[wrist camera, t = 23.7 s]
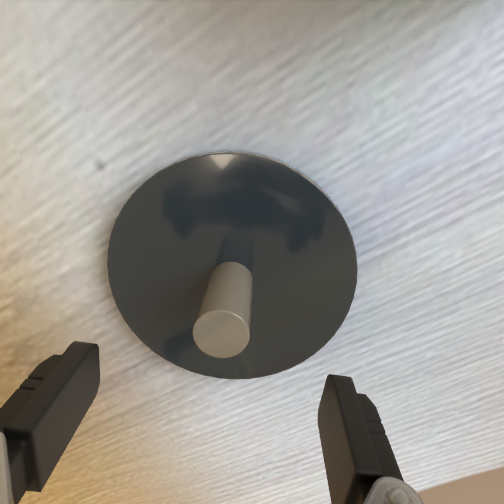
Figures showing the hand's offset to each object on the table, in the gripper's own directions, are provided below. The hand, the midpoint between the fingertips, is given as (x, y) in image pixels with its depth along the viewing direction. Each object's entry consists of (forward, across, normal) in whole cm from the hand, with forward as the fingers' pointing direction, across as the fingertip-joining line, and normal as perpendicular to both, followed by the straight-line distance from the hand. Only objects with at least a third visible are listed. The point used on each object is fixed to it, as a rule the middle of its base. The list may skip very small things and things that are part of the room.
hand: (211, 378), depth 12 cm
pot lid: (+8, 0, 0) cm, 8 cm away
